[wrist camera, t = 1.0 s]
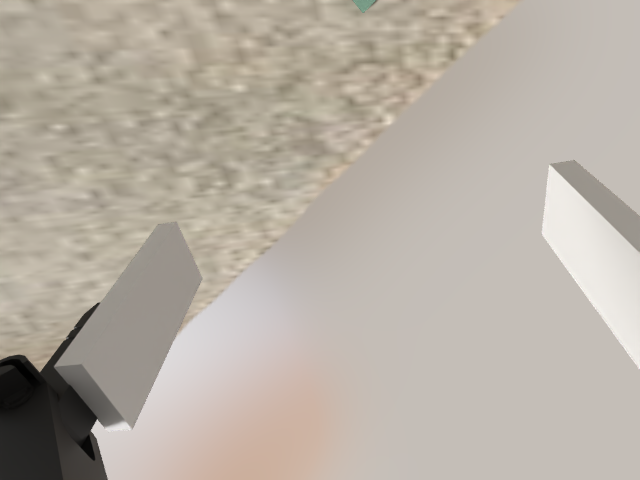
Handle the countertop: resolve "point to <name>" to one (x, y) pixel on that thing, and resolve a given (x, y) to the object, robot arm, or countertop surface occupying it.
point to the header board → (364, 4)
